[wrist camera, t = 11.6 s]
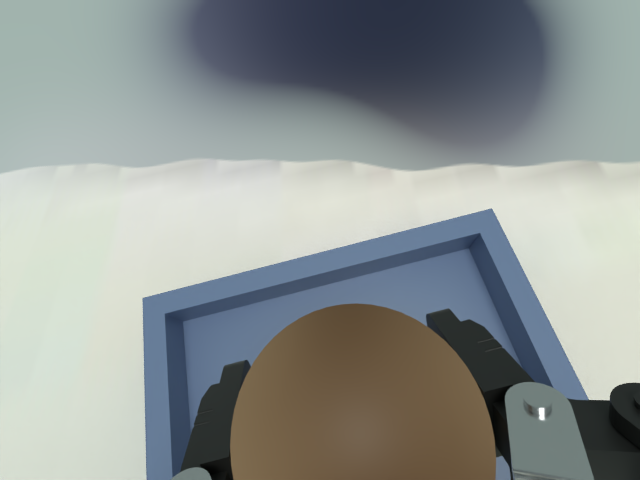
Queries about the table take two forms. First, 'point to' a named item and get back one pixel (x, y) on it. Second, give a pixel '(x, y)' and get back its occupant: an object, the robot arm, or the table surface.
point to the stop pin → (360, 404)
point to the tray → (335, 289)
